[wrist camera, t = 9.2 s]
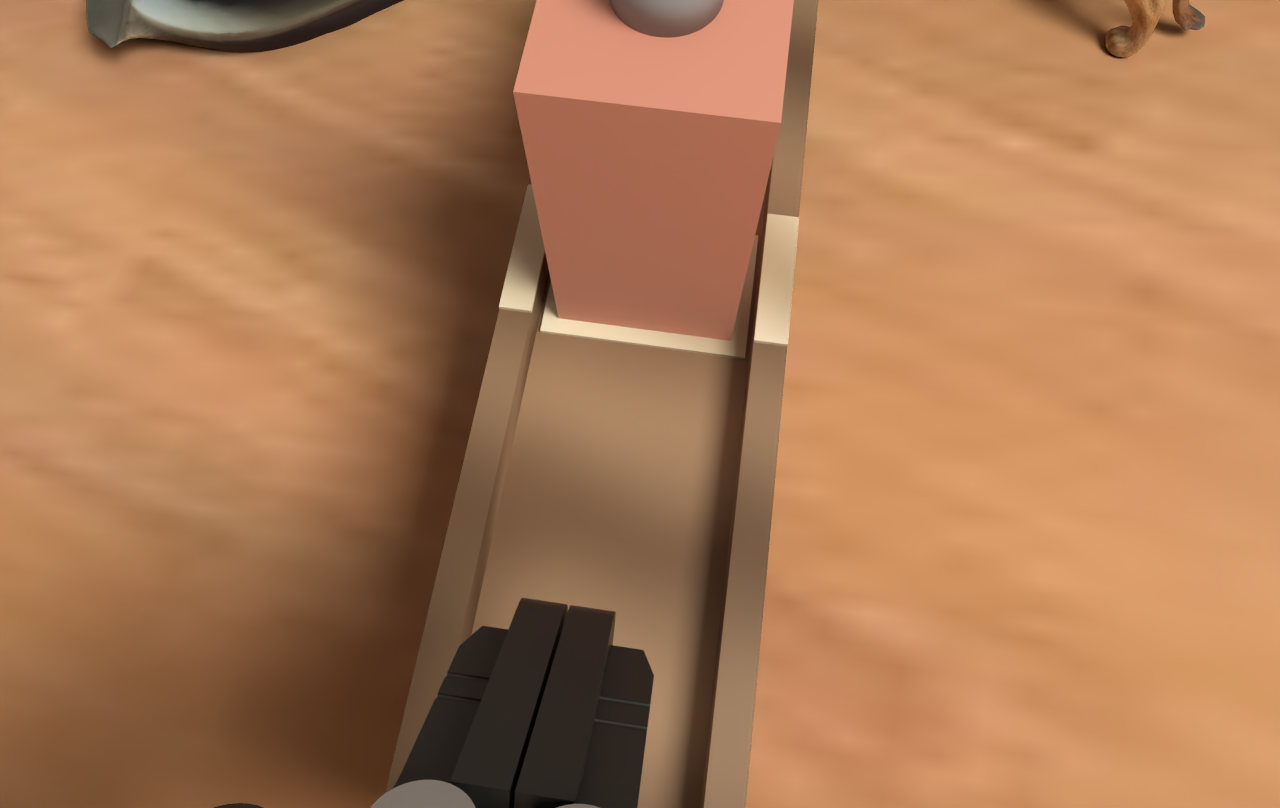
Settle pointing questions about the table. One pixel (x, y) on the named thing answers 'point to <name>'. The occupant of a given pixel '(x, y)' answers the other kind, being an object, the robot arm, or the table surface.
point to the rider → (652, 153)
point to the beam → (634, 487)
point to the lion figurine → (1149, 24)
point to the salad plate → (226, 21)
